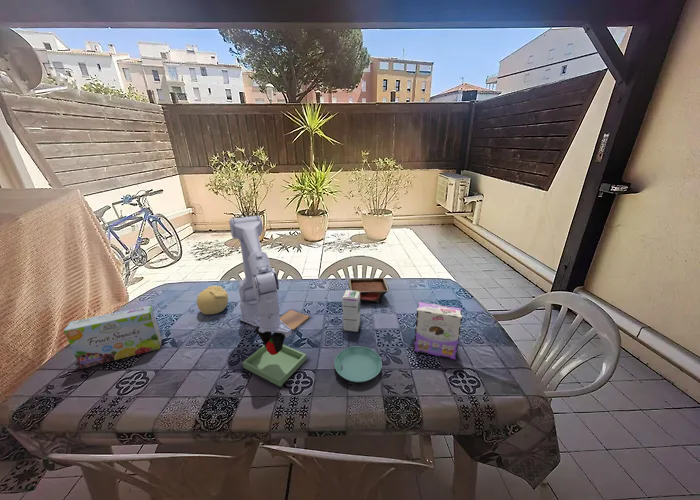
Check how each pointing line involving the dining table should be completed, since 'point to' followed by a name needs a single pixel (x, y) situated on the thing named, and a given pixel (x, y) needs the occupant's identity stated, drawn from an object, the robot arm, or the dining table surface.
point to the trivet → (293, 319)
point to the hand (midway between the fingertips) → (273, 347)
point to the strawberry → (271, 347)
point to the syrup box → (351, 310)
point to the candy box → (437, 330)
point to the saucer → (358, 364)
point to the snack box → (113, 336)
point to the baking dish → (369, 288)
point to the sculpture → (212, 300)
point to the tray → (275, 364)
